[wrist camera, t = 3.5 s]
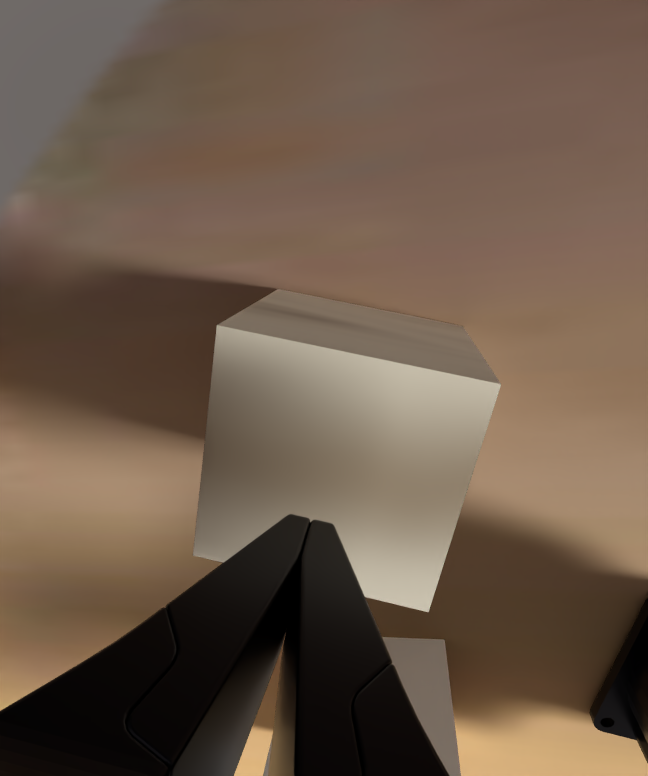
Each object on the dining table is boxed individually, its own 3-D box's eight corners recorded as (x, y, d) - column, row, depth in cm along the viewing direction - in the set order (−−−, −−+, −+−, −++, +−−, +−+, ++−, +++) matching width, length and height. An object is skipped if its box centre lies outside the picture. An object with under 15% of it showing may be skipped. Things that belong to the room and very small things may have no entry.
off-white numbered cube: (445, 746, 22) (464, 945, 16) (310, 736, 22) (279, 921, 17) (444, 638, 20) (465, 818, 14) (297, 632, 21) (257, 798, 15)
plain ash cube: (417, 487, 18) (428, 612, 12) (255, 451, 18) (193, 555, 12) (462, 325, 16) (500, 384, 10) (278, 288, 16) (216, 324, 10)
